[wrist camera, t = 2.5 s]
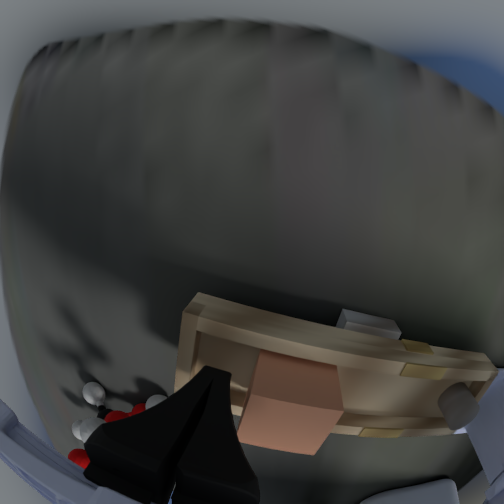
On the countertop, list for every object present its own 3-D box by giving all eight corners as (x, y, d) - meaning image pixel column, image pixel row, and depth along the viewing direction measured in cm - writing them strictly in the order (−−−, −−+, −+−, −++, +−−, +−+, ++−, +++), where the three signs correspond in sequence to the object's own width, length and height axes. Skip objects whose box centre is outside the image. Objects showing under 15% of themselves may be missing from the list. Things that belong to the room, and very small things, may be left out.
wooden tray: (477, 336, 15) (511, 375, 10) (434, 405, 17) (453, 449, 12) (208, 274, 16) (173, 313, 12) (193, 363, 18) (166, 413, 13)
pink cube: (335, 361, 13) (344, 411, 10) (312, 406, 14) (313, 455, 11) (261, 345, 14) (250, 393, 10) (246, 392, 15) (234, 440, 11)
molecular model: (163, 416, 26) (128, 486, 19) (100, 380, 26) (62, 447, 18) (192, 389, 16) (131, 518, 9) (85, 324, 16) (11, 440, 8)
